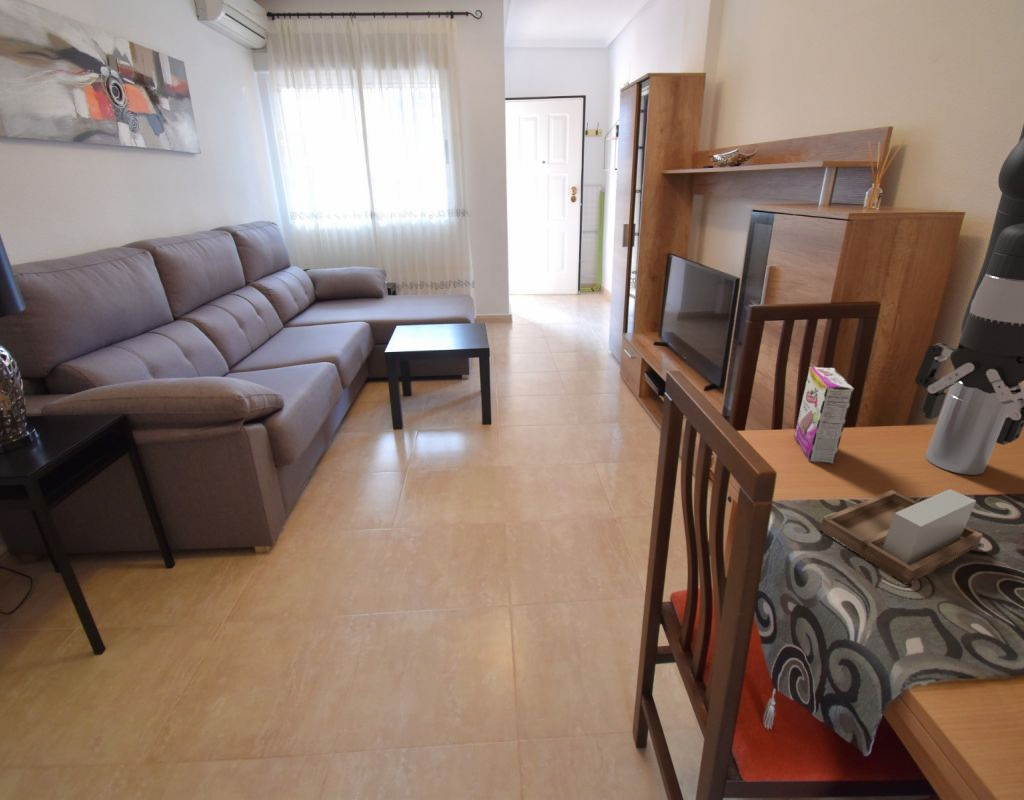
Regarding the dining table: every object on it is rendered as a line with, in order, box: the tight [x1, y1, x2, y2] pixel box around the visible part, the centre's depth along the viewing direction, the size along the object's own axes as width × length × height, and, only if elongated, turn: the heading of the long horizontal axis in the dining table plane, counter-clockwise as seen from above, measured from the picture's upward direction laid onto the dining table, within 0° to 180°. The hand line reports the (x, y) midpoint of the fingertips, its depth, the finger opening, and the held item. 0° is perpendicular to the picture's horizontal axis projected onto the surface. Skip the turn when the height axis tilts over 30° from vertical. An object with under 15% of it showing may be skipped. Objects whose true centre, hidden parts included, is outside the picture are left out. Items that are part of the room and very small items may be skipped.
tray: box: [819, 489, 983, 585], centre depth 82 cm, size 18×13×2 cm
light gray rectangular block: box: [882, 488, 977, 565], centre depth 79 cm, size 14×4×7 cm, turn 116°
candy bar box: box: [793, 366, 855, 465], centre depth 106 cm, size 11×5×16 cm, turn 168°
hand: (965, 429), depth 72 cm, fingers open, 8 cm apart
